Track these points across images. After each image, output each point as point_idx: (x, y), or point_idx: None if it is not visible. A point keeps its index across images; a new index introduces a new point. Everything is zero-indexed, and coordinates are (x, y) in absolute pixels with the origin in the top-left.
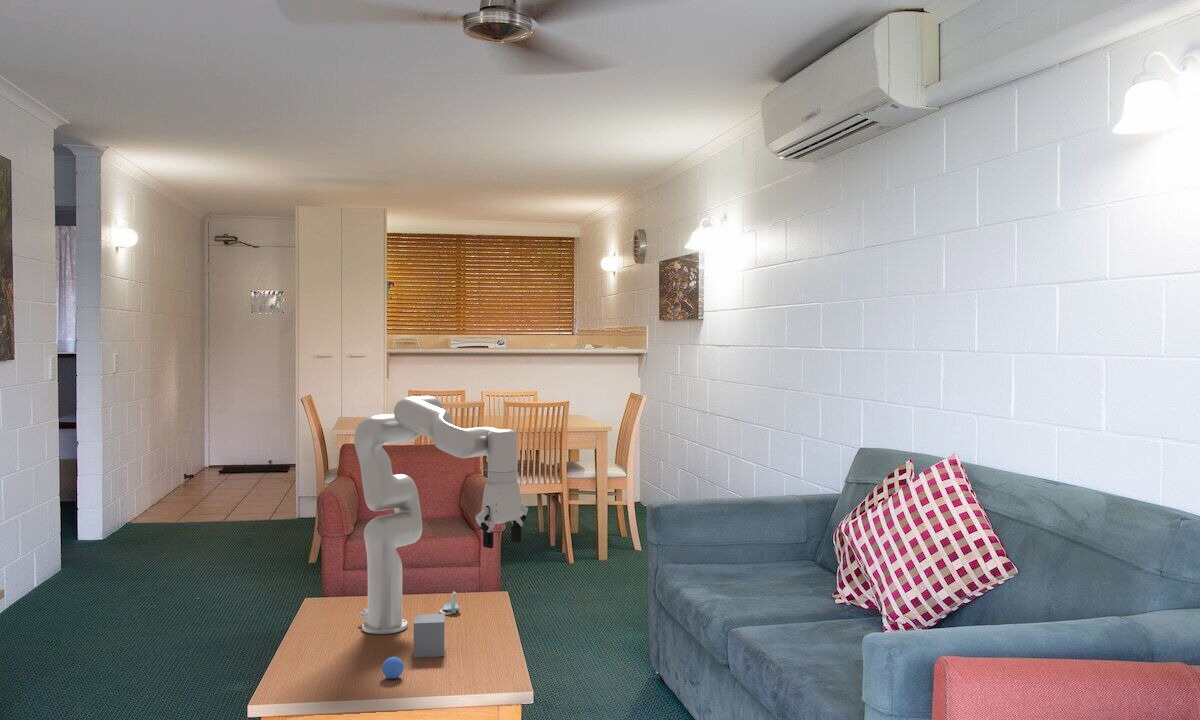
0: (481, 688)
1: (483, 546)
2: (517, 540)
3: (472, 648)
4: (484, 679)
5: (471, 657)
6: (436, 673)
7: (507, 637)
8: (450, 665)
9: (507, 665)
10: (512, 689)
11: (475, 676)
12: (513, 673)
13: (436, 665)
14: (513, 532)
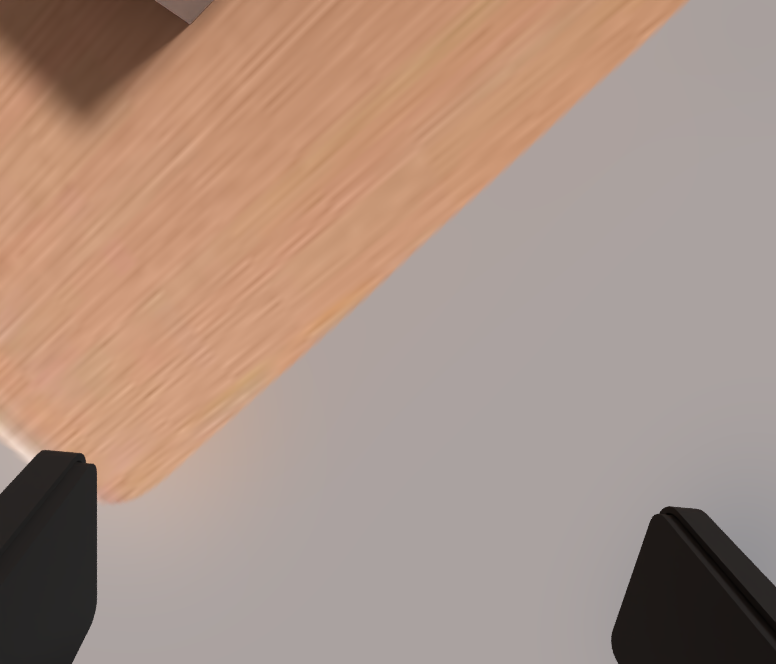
0: (38, 402)
1: (47, 452)
2: (625, 635)
3: (353, 63)
4: (108, 355)
5: (259, 144)
6: (18, 154)
7: (563, 100)
8: (126, 136)
9: (276, 329)
10: (107, 484)
11: (107, 308)
12: (224, 397)
13: (84, 81)
14: (720, 658)
